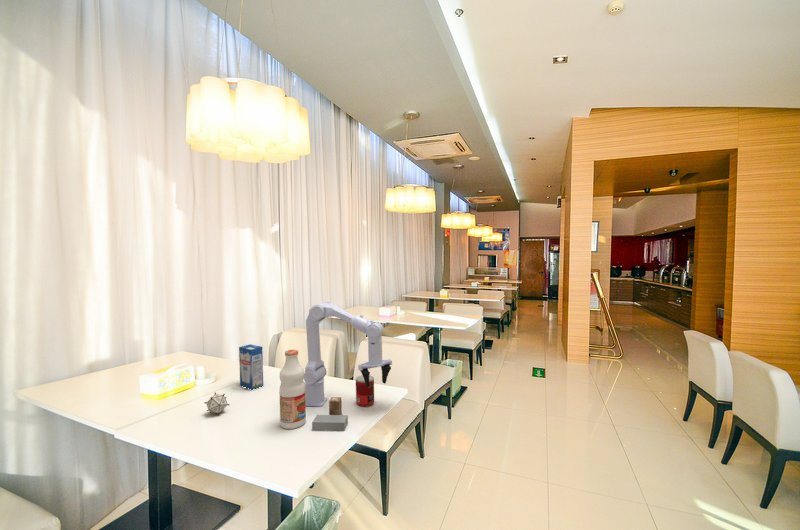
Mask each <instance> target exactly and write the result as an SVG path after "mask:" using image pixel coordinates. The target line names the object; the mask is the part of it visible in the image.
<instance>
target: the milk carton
mask: <svg viewBox="0 0 800 530" xmlns="http://www.w3.org/2000/svg"><path fill="white" fill-rule="evenodd" d="M238 348H239V349H238V351H239V352H238V353H239V354H238V355H239V359H238V360H239V386H240V385H241V386H243V387H246V388H249V389H251V390H253V389H256V388H258V389H260V388H259V387H261V388H263V387H264V365H263V364H264V360H263V358H264V356H263V352H264V351H263V346H260V345H256V344H247V345H246V344H245V345H243V346H239V347H238ZM262 386H263V387H262ZM251 390H250V391H251ZM256 390H257V389H256ZM253 391H254V390H253Z"/></svg>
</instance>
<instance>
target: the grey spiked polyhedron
mask: <svg viewBox="0 0 800 530" xmlns="http://www.w3.org/2000/svg"><path fill="white" fill-rule="evenodd" d="M225 395H226V394H225V393H223V394H219V393H216V392H214V394H213V395H212V396H211V397H210V399H208V400H207V402H206V401H205V402H204V404H205V405H206V406H207V410H206V412H208V411H209V413H211V414H212V413H213V414H217V415H218V416H221V414H220V413H222V411H224V409H225V408H227V407H228V406H230V405H231V404H230V403H228V401H227V396H225Z"/></svg>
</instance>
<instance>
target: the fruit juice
mask: <svg viewBox="0 0 800 530" xmlns="http://www.w3.org/2000/svg"><path fill="white" fill-rule="evenodd" d="M298 356H299V350H298V349H287V350H285V351H284V357H285V362H284V365H283V367H282V368H281V370H280V372H279V380H280V385H279V419H280V420H279V424H280V426H281V428H283V429H285V430H292V429H297V428H300V427H302V426H303V425H305V423H306V419H307V417H306V416H307V415H306V414H307V413H306V412H307V411H306V408H307V406H306V405H305V384H304V382H305V381H304V373H305V368H303V366H302V365H301V364H300V362H299V357H298Z"/></svg>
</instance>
